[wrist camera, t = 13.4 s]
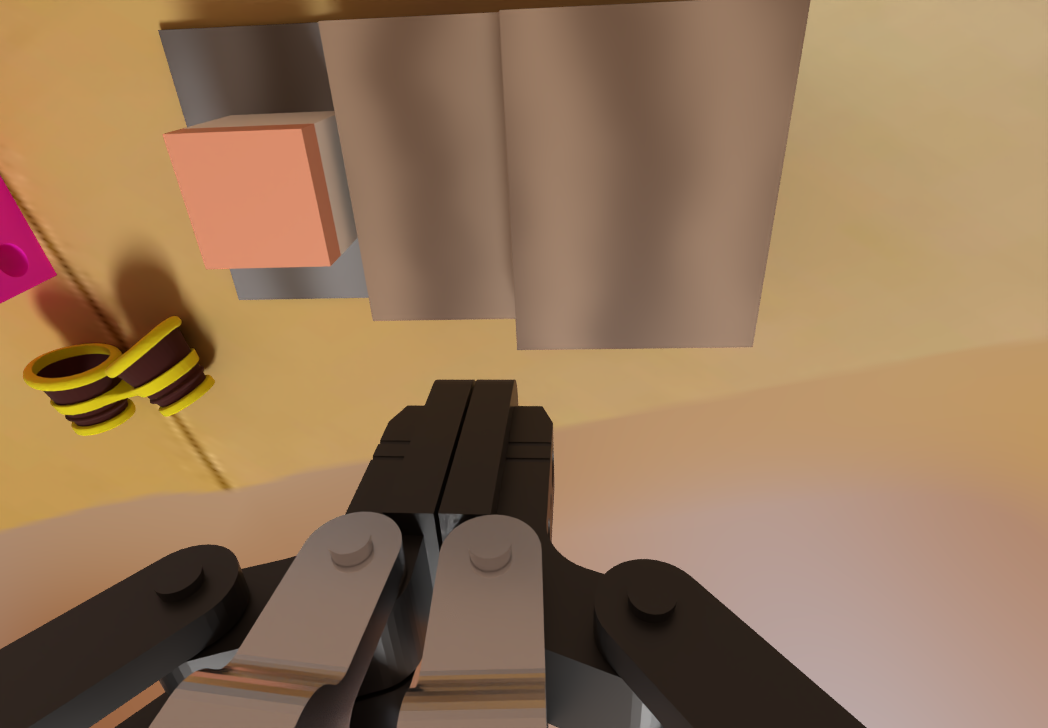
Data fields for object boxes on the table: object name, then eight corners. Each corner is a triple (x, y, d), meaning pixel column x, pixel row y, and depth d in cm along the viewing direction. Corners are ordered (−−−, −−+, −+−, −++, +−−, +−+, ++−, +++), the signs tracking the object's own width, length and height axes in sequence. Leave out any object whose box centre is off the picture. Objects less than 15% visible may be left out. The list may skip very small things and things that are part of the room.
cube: (162, 134, 25) (230, 115, 30) (206, 269, 28) (261, 230, 33) (301, 128, 25) (346, 110, 30) (330, 266, 28) (366, 227, 33)
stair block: (754, 1, 27) (811, -6, 21) (717, 289, 34) (752, 347, 28) (161, 30, 29) (55, 32, 23) (241, 297, 36) (176, 353, 30)
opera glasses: (112, 406, 41) (58, 452, 36) (61, 340, 38) (-3, 380, 34) (235, 374, 39) (194, 419, 34) (190, 302, 36) (140, 341, 32)
